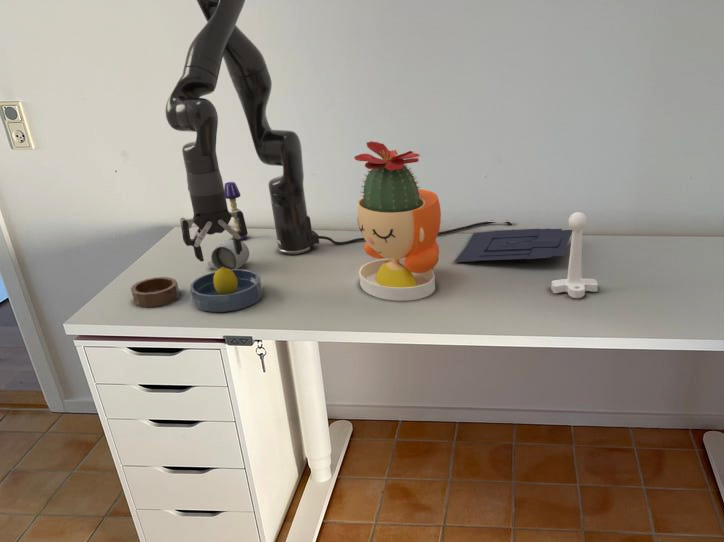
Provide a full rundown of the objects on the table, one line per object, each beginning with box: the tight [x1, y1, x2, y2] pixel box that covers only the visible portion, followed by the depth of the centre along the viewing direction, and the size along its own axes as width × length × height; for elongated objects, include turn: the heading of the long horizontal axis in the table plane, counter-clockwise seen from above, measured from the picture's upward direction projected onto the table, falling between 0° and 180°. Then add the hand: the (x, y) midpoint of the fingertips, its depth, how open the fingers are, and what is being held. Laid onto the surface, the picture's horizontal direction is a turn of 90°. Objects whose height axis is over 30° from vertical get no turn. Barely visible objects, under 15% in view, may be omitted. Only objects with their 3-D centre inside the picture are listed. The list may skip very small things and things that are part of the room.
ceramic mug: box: [207, 239, 250, 271], centre depth 191 cm, size 11×8×8 cm
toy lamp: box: [223, 181, 248, 241], centre depth 209 cm, size 5×5×17 cm
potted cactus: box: [354, 140, 442, 302], centre depth 175 cm, size 22×22×35 cm
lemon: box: [213, 267, 238, 295], centre depth 173 cm, size 6×6×8 cm
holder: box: [130, 276, 181, 308], centre depth 175 cm, size 10×10×4 cm
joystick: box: [550, 211, 599, 299], centre depth 171 cm, size 11×8×20 cm
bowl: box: [189, 268, 264, 313], centre depth 174 cm, size 16×16×4 cm
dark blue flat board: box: [453, 228, 572, 263], centre depth 200 cm, size 24×30×4 cm
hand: (220, 256), depth 170 cm, fingers open, 8 cm apart
